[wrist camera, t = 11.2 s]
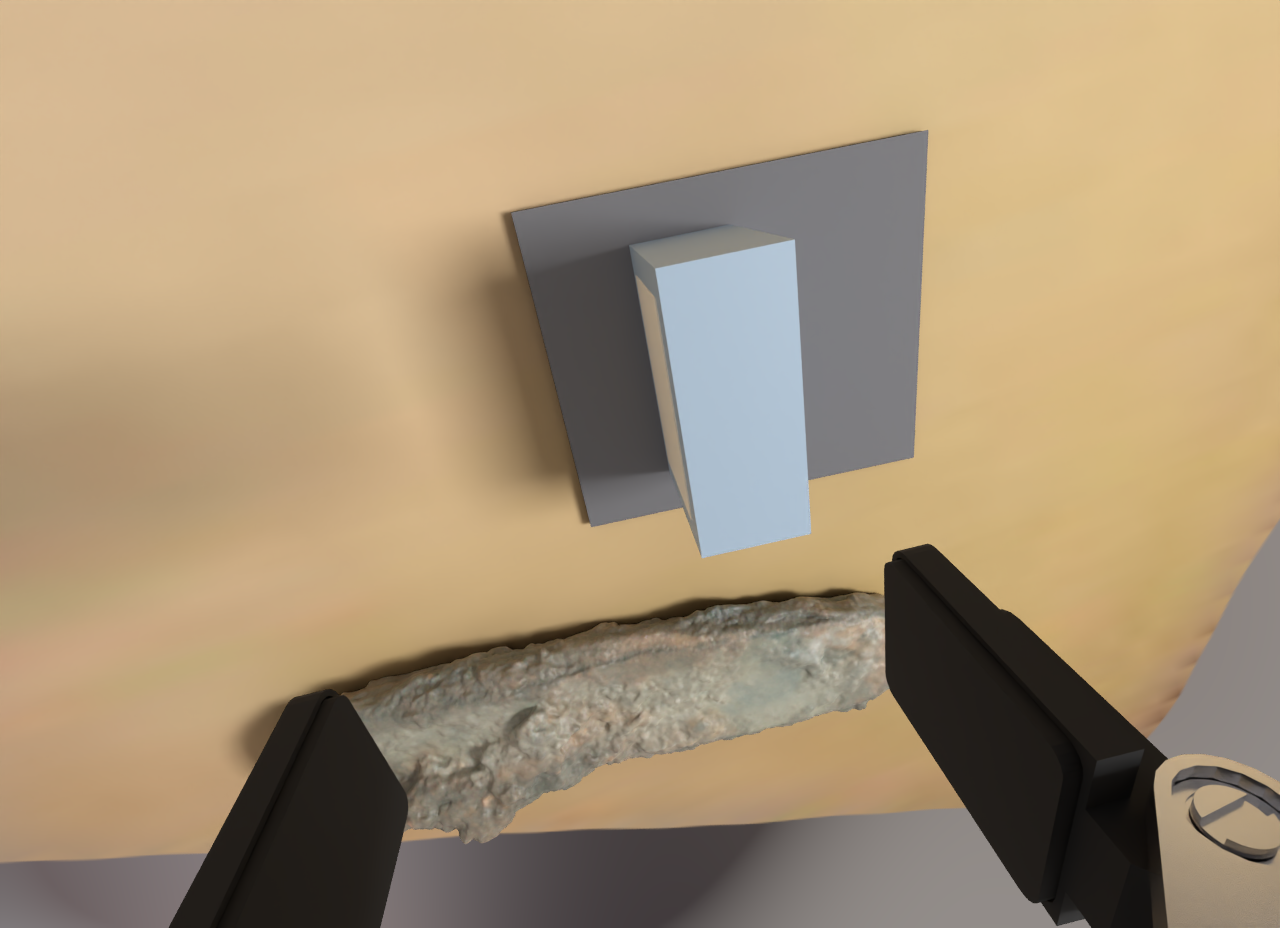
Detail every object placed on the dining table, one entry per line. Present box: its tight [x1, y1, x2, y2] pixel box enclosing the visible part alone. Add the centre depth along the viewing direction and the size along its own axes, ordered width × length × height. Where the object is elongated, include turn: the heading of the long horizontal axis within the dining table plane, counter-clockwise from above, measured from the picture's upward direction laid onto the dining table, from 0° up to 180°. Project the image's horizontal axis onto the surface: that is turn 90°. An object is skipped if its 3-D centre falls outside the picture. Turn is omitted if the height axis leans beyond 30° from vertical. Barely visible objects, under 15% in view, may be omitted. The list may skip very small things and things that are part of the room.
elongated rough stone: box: [339, 592, 890, 844], centre depth 31 cm, size 35×5×10 cm
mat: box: [511, 130, 928, 527], centre depth 25 cm, size 14×16×1 cm
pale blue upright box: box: [629, 224, 811, 558], centre depth 21 cm, size 10×4×7 cm, turn 10°
